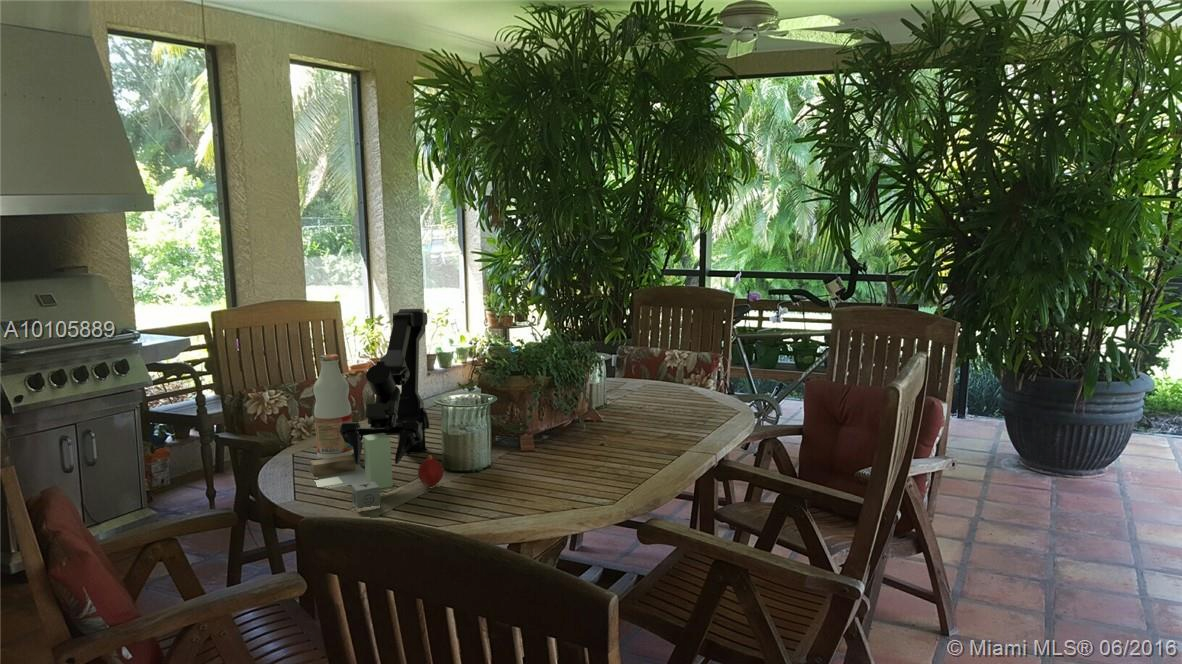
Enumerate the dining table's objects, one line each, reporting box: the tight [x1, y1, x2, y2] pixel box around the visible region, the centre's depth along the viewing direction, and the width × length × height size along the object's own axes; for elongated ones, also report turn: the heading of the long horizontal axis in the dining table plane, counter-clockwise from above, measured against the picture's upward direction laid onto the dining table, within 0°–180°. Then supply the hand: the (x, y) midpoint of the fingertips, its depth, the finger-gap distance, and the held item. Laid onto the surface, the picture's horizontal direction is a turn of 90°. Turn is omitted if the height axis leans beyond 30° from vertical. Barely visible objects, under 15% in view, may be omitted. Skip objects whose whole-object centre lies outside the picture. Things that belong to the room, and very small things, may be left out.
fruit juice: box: [312, 353, 354, 459], centre depth 220 cm, size 9×9×28 cm
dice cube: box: [350, 481, 382, 508], centre depth 183 cm, size 5×5×5 cm
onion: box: [417, 454, 444, 488], centre depth 196 cm, size 6×6×8 cm
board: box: [314, 463, 366, 490], centre depth 202 cm, size 14×16×1 cm
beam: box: [309, 454, 356, 477], centre depth 206 cm, size 10×4×3 cm, turn 119°
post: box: [362, 433, 394, 491], centre depth 194 cm, size 5×5×13 cm
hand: (376, 463), depth 193 cm, fingers open, 9 cm apart
